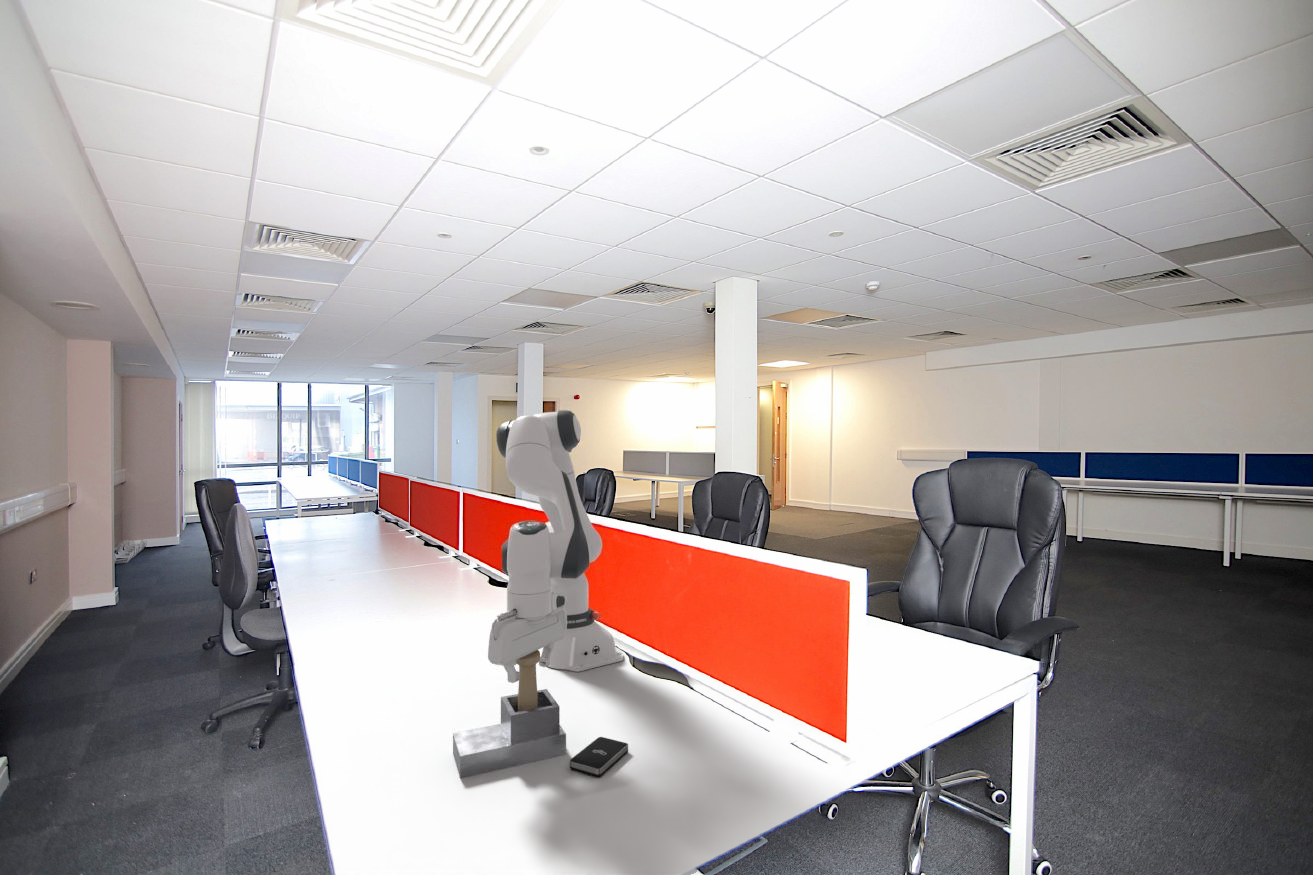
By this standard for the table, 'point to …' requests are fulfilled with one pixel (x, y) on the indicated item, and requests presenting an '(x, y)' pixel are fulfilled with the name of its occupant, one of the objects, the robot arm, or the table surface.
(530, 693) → the handle
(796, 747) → the table surface
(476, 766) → the duct
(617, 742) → the external hard drive
